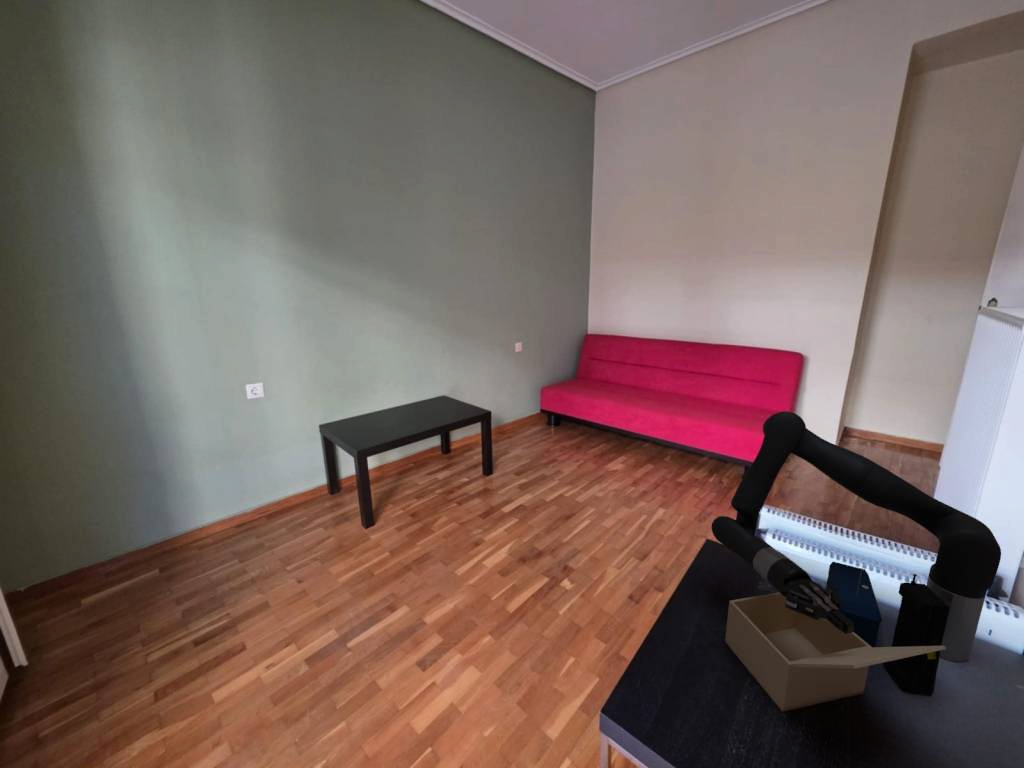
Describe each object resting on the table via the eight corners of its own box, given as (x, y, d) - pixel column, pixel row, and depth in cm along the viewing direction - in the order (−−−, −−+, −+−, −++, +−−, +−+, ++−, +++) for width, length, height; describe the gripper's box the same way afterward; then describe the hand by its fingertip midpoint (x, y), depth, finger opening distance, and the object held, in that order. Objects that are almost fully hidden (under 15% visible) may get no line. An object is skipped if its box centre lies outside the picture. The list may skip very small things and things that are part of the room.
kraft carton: (725, 641, 104) (729, 600, 101) (794, 628, 107) (800, 588, 105) (782, 711, 87) (789, 664, 84) (863, 693, 90) (872, 647, 87)
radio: (878, 663, 97) (893, 589, 92) (831, 647, 102) (843, 576, 97) (862, 605, 114) (875, 540, 110) (823, 593, 119) (833, 531, 114)
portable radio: (939, 702, 88) (964, 601, 82) (905, 697, 89) (928, 597, 83) (912, 669, 95) (934, 574, 89) (881, 665, 96) (901, 571, 91)
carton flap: (853, 664, 71) (855, 669, 70) (944, 645, 74) (946, 649, 74) (791, 663, 84) (793, 667, 84) (870, 647, 87) (872, 650, 87)
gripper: (756, 561, 96) (824, 619, 79) (806, 553, 98) (882, 608, 81) (753, 589, 97) (819, 651, 81) (802, 581, 100) (875, 639, 83)
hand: (850, 629), depth 81 cm, fingers closed
